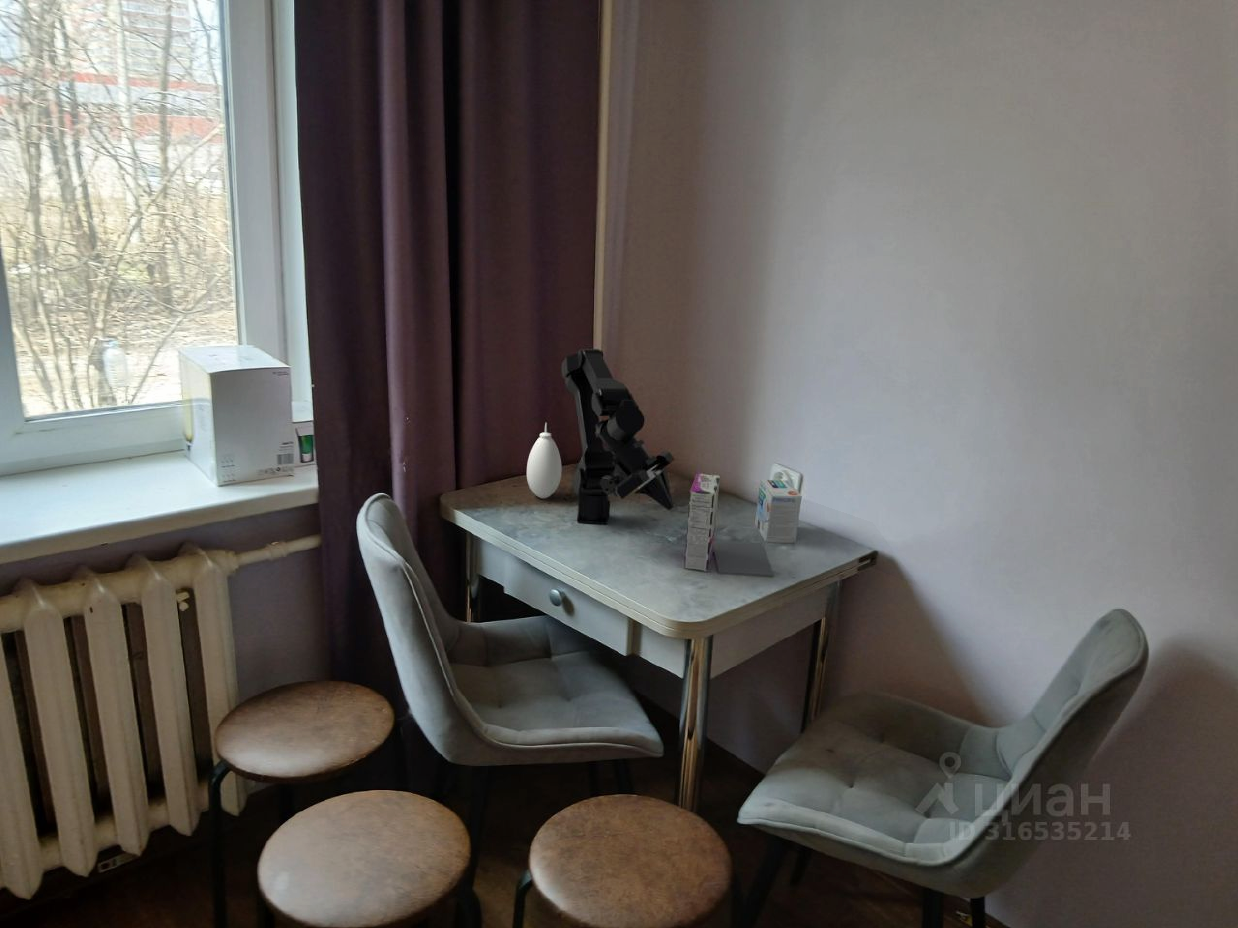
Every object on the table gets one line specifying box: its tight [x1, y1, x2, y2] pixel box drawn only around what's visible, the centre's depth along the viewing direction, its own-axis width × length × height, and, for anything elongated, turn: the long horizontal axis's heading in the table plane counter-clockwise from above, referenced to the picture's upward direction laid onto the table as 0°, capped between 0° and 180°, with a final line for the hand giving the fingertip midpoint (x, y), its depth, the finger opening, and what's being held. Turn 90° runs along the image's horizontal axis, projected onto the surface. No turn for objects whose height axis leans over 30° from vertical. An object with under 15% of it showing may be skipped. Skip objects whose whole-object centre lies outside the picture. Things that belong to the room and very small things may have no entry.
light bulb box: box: [754, 479, 803, 544], centre depth 188 cm, size 11×7×11 cm, turn 5°
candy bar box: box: [683, 472, 721, 572], centre depth 170 cm, size 11×5×16 cm, turn 168°
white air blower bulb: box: [526, 422, 562, 499], centre depth 200 cm, size 8×8×18 cm
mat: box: [713, 539, 774, 578], centre depth 175 cm, size 10×16×1 cm, turn 179°
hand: (671, 508), depth 172 cm, fingers closed
